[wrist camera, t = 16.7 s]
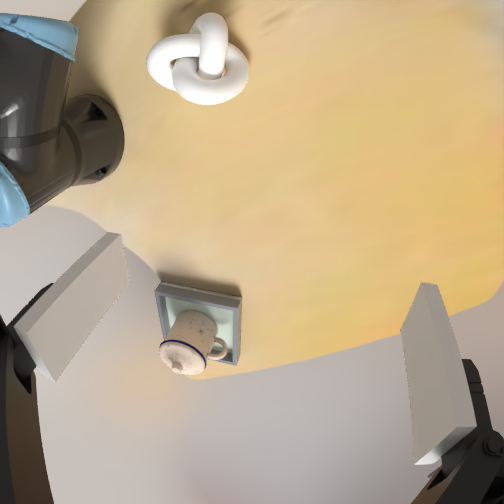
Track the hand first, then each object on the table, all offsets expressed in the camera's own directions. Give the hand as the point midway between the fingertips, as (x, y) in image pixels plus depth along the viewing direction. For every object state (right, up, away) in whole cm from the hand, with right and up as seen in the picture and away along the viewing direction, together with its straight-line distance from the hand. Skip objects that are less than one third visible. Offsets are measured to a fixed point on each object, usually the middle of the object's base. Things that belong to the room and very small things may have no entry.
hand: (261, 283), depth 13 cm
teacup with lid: (-10, -13, +48) cm, 51 cm away
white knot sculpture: (-5, +27, +23) cm, 36 cm away
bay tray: (-10, -12, +49) cm, 51 cm away
